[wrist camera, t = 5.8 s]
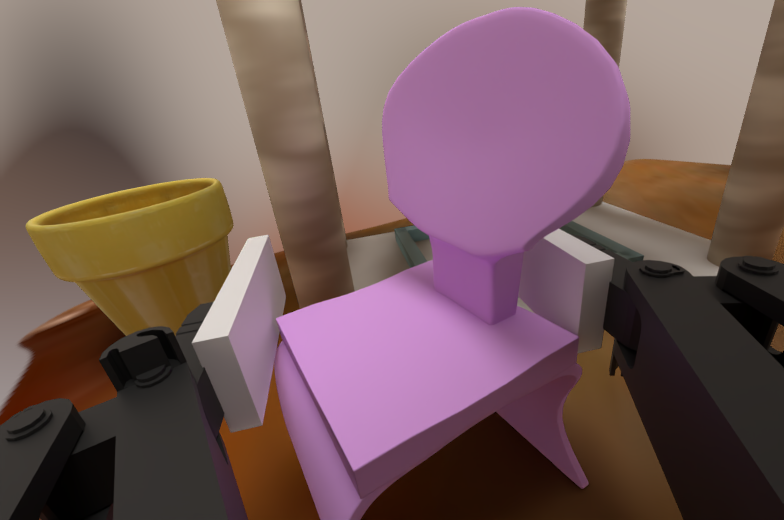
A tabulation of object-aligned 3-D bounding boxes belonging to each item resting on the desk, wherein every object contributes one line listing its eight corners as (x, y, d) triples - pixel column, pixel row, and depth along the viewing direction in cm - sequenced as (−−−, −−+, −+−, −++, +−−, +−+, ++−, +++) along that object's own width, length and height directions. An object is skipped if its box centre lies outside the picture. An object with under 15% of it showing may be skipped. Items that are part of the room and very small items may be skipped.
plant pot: (133, 309, 30) (76, 195, 26) (261, 279, 32) (227, 169, 28) (75, 397, 21) (-28, 241, 17) (258, 346, 23) (207, 198, 19)
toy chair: (297, 459, 15) (159, 63, 9) (459, 370, 19) (440, 41, 13) (392, 721, 9) (118, -97, 2) (617, 509, 12) (743, -50, 6)
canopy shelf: (588, 205, 39) (620, -101, 28) (778, 280, 23) (1017, -369, 12) (318, 254, 36) (243, -69, 25) (314, 382, 20) (104, -372, 9)
